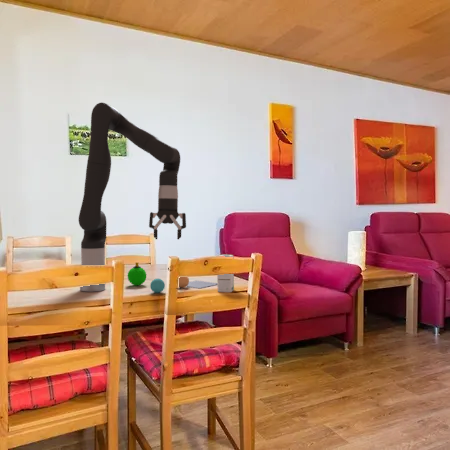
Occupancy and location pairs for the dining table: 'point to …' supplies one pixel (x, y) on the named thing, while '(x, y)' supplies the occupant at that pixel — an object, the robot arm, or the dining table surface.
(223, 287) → the syrup box
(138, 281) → the ornament
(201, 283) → the slate mark
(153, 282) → the teal cue ball
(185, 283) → the orange ball
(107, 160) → the robot arm
